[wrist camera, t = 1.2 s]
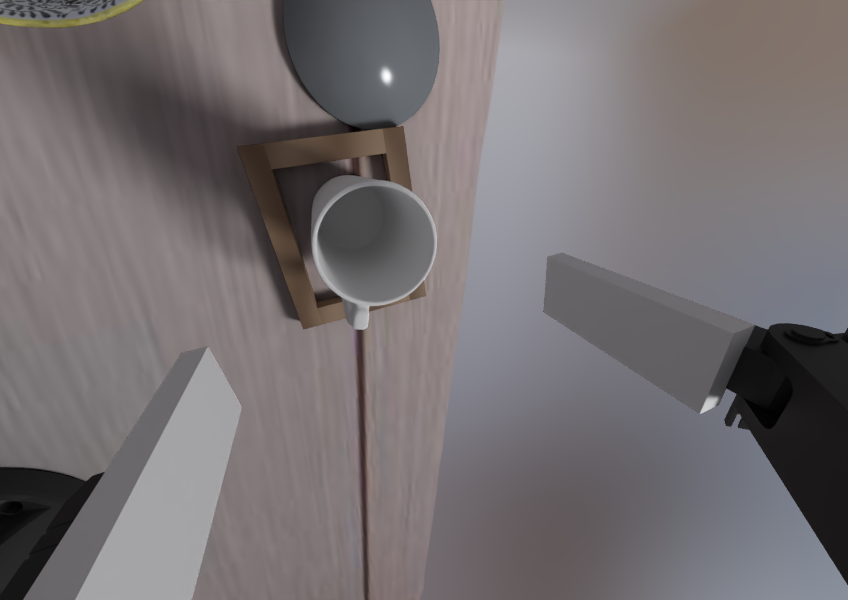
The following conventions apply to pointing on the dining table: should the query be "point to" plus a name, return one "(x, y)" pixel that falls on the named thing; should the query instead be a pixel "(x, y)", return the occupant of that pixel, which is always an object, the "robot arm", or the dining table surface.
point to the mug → (370, 242)
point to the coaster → (364, 56)
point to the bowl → (60, 12)
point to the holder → (275, 215)
